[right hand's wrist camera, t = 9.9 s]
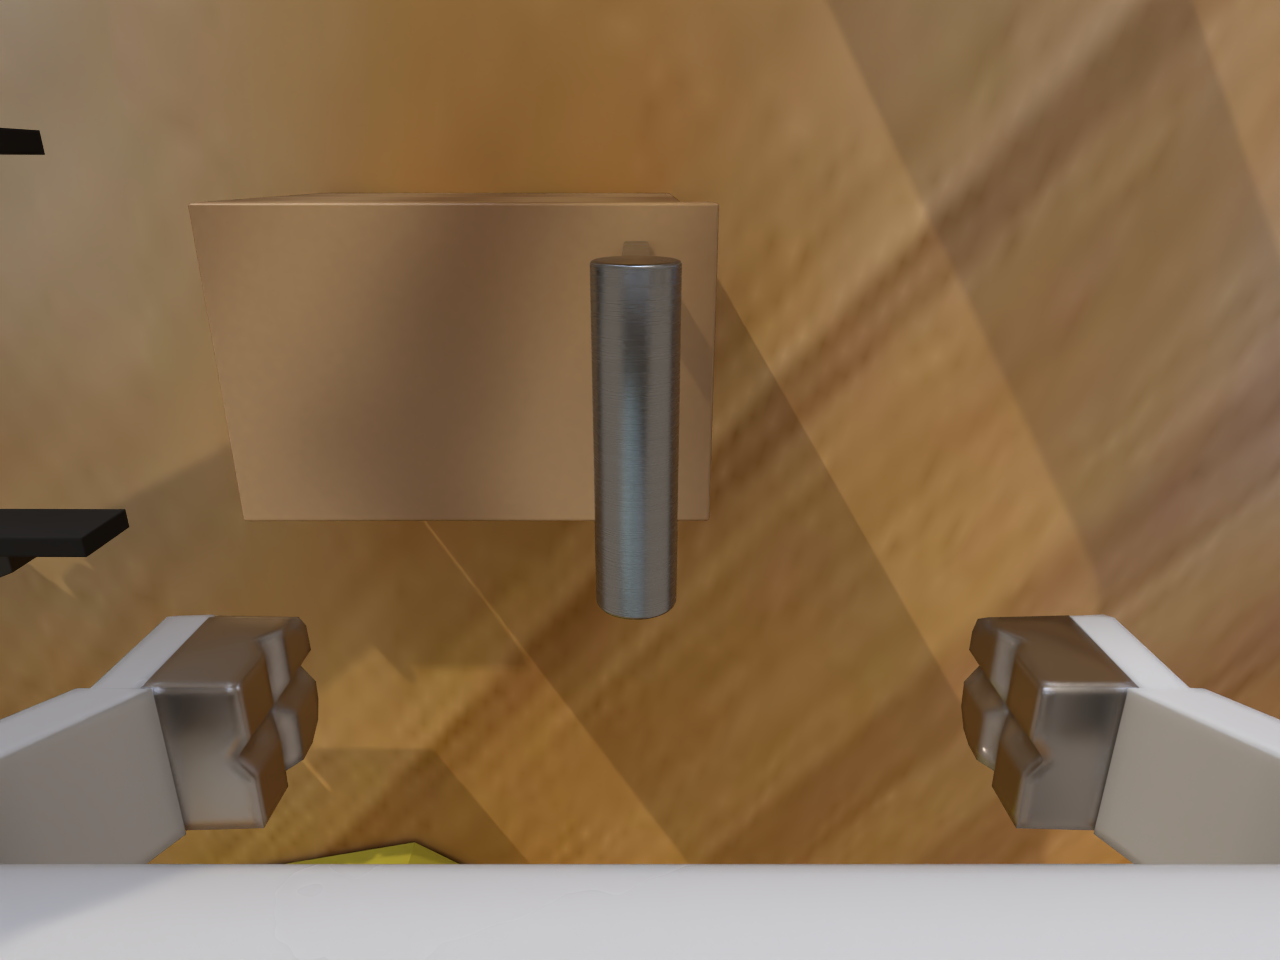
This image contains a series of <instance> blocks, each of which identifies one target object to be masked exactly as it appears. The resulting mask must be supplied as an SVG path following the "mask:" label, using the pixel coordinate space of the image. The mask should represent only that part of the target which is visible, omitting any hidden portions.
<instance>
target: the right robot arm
mask: <svg viewBox="0 0 1280 960" xmlns="http://www.w3.org/2000/svg"><path fill="white" fill-rule="evenodd" d="M310 650H311V648H310V643H309V638H308V633H307V628H306V625H305V624H304V623H303V621H302V620H301V619H300V618H299V617H269V616H215V615H182V616H171V617H166V618H165V619H164V620H163V621H162V622H161V623H160V624H159V625H158V626H157V627H156V628H155V629H153V630H152V631H151V632H150V633H149V634H148V635H147V636H146V637H145V638H144V639H143V640H142V641H141V642H139V643H138V644H137V645H136V646H135V647H134V648H133V649H132V650H131V651H130V652H129V653H128V654H127V655H125V656H124V657H123V658H122V659H121V660H120V661H119V662H118V663H117V664H116V665H115V666H114V667H113V668H111V669H110V670H109V671H108V672H107V673H106V674H105V675H104V676H103V677H102V678H101V679H100V680H99V681H97V682H96V683H95V684H94V685H93V686H92V687H91V688H76V689H73V690H71V691H69V692H66V693H64V694H61V695H59V696H56V697H54V698H52V699H49V700H47V701H44V702H42V703H39V704H37V705H35V706H32V707H30V708H27V709H25V710H22V711H20V712H18V713H15V714H13V715H10V716H8V717H5V718H3V719H1V720H0V960H1280V720H1279V719H1277V718H1274V717H1272V716H1269V715H1267V714H1265V713H1262V712H1260V711H1257V710H1255V709H1253V708H1250V707H1248V706H1245V705H1243V704H1240V703H1238V702H1236V701H1233V700H1231V699H1228V698H1226V697H1223V696H1221V695H1219V694H1216V693H1214V692H1211V691H1209V690H1207V689H1204V688H1189V687H1188V686H1187V685H1186V684H1185V683H1184V682H1183V681H1182V680H1180V679H1179V678H1178V677H1177V676H1176V675H1175V674H1174V673H1173V672H1172V671H1171V670H1170V669H1169V668H1168V667H1167V666H1165V665H1164V664H1163V663H1162V662H1161V661H1160V660H1159V659H1158V658H1157V657H1156V656H1155V655H1154V654H1153V653H1151V652H1150V651H1149V650H1148V649H1147V648H1146V647H1145V646H1144V645H1143V644H1142V643H1141V642H1140V641H1139V640H1137V639H1136V638H1135V637H1134V636H1133V635H1132V634H1131V633H1130V632H1129V631H1128V630H1127V629H1126V628H1125V627H1124V626H1122V625H1121V624H1120V623H1119V622H1118V621H1117V620H1116V619H1115V618H1113V617H1110V616H1106V615H1079V616H1069V615H1068V616H1027V617H988V618H981V619H978V620H977V622H976V624H975V626H974V629H973V631H972V636H971V642H970V648H969V650H970V652H971V653H972V655H973V656H974V658H975V660H976V661H977V663H978V664H979V667H978V668H977V669H976V670H975V671H974V672H973V673H972V674H971V675H970V676H969V677H968V678H967V679H966V680H965V681H964V687H963V695H962V704H961V709H962V719H963V729H964V732H965V735H966V738H967V741H968V745H969V747H970V748H971V750H972V752H973V754H974V756H975V758H976V759H977V760H978V761H980V762H981V763H983V764H984V765H986V766H987V767H989V768H991V769H992V770H994V776H993V782H992V787H993V789H994V791H995V793H996V794H997V796H998V798H999V799H1000V801H1001V803H1002V805H1003V806H1004V808H1005V810H1006V811H1007V813H1008V815H1009V817H1010V818H1011V820H1012V822H1013V823H1014V825H1015V827H1016V828H1032V829H1068V830H1094V834H1095V835H1096V836H1098V837H1099V838H1100V839H1102V840H1103V841H1104V842H1106V843H1107V844H1108V845H1110V846H1111V847H1112V848H1114V849H1115V850H1116V851H1117V852H1119V853H1120V854H1121V855H1123V856H1124V857H1125V858H1127V859H1128V860H1129V861H1131V862H1132V863H1133V864H147V863H148V862H150V861H151V860H152V859H154V858H155V857H156V856H157V855H159V854H160V853H161V852H163V851H164V850H165V849H167V848H168V847H169V846H171V845H172V844H173V843H175V842H176V841H177V840H179V839H180V838H181V837H183V836H184V835H185V834H186V830H211V829H246V828H264V827H265V825H266V824H267V822H268V820H269V818H270V817H271V815H272V813H273V811H274V810H275V808H276V806H277V805H278V803H279V801H280V799H281V798H282V796H283V794H284V792H285V791H286V789H287V787H288V782H287V776H286V770H288V769H289V768H291V767H293V766H294V765H296V764H297V763H299V762H300V761H302V760H303V759H304V757H305V756H306V754H307V752H308V750H309V748H310V746H311V744H312V743H313V738H314V734H315V730H316V726H317V722H318V693H317V686H316V681H315V680H314V679H313V678H312V677H311V676H310V675H309V674H308V673H307V672H306V671H305V670H304V669H303V668H302V667H301V664H302V663H303V661H304V660H305V658H306V656H307V655H308V653H309V652H310Z"/></svg>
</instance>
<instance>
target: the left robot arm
mask: <svg viewBox="0 0 1280 960" xmlns="http://www.w3.org/2000/svg"><path fill="white" fill-rule="evenodd" d="M0 154H4V155H45V153H44V149H43V144H42V140H41V135H40V131H39V130H25V129H10V128H0ZM127 528H129V524H128V519H127V515H126V511H125V509H0V577H2V576H5V575H7V574H10V573H12V572H14V571H15V570H17V569H19V568H20V567H22V566H23V565H25V564H26V563H28V562H29V561H31V560H33V559H34V558H36V557H87V556H89V555H90V554H92V553H93V552H94V551H96V550H97V549H99V548H100V547H102V546H103V545H104V544H106V543H107V542H109V541H110V540H112V539H113V538H114V537H116V536H117V535H119V534H120V533H122V532H123V531H124V530H126V529H127Z"/></svg>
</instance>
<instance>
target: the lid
mask: <svg viewBox="0 0 1280 960" xmlns="http://www.w3.org/2000/svg"><path fill="white" fill-rule="evenodd" d="M188 207H189V213H190V218H191V224H192V230H193V235H194V241H195V247H196V252H197V258H198V263H199V269H200V275H201V280H202V286H203V292H204V297H205V303H206V308H207V314H208V320H209V325H210V331H211V337H212V342H213V348H214V353H215V359H216V365H217V370H218V376H219V382H220V387H221V393H222V398H223V404H224V410H225V415H226V421H227V427H228V432H229V438H230V443H231V449H232V455H233V460H234V466H235V472H236V477H237V483H238V488H239V494H240V500H241V505H242V511H243V517H244V520H245V521H595V554H596V600H597V603H598V605H599V607H600V608H601V609H602V610H603V611H604V612H606V613H608V614H610V615H612V616H615V617H619V618H624V619H636V620H637V619H649V618H654V617H657V616H660V615H663V614H665V613H666V612H668V611H669V610H671V609H672V607H673V606H674V604H675V602H676V581H677V523H678V520H708V519H709V508H710V476H711V444H712V413H713V381H714V349H715V318H716V286H717V254H718V223H719V205H718V204H717V203H715V202H194V203H189V205H188Z"/></svg>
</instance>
